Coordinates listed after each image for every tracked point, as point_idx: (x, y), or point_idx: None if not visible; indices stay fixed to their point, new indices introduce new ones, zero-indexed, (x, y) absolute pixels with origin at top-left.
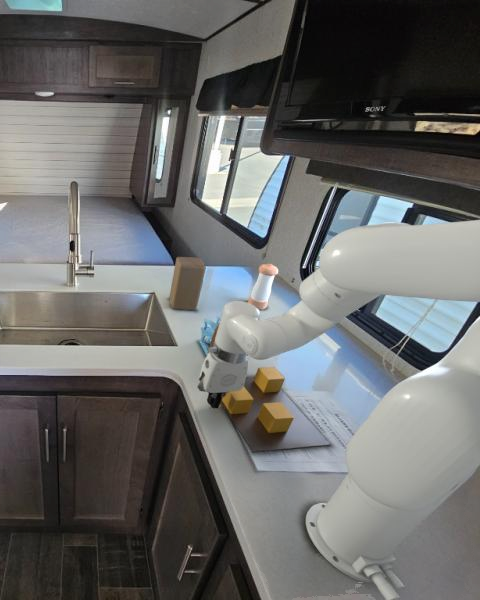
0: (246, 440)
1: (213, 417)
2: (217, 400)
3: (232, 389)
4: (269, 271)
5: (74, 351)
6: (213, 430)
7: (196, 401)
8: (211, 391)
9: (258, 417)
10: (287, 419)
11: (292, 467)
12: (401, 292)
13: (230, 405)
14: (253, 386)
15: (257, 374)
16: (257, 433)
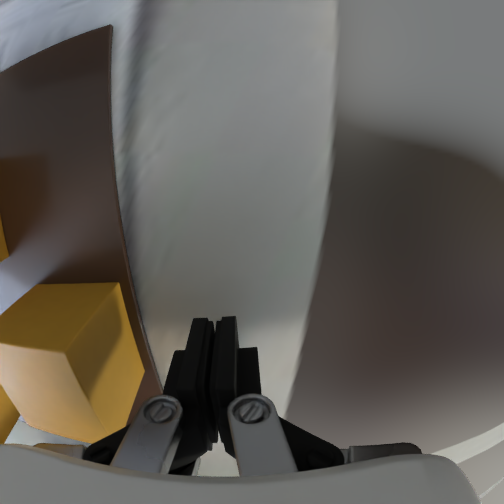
0: (104, 88)
1: (234, 265)
2: (212, 372)
3: (64, 491)
4: None
5: (495, 444)
6: (279, 164)
7: (286, 369)
8: (404, 480)
9: (4, 250)
10: None
11: (13, 9)
12: None
13: (109, 330)
14: None
15: (4, 431)
16: (33, 147)
